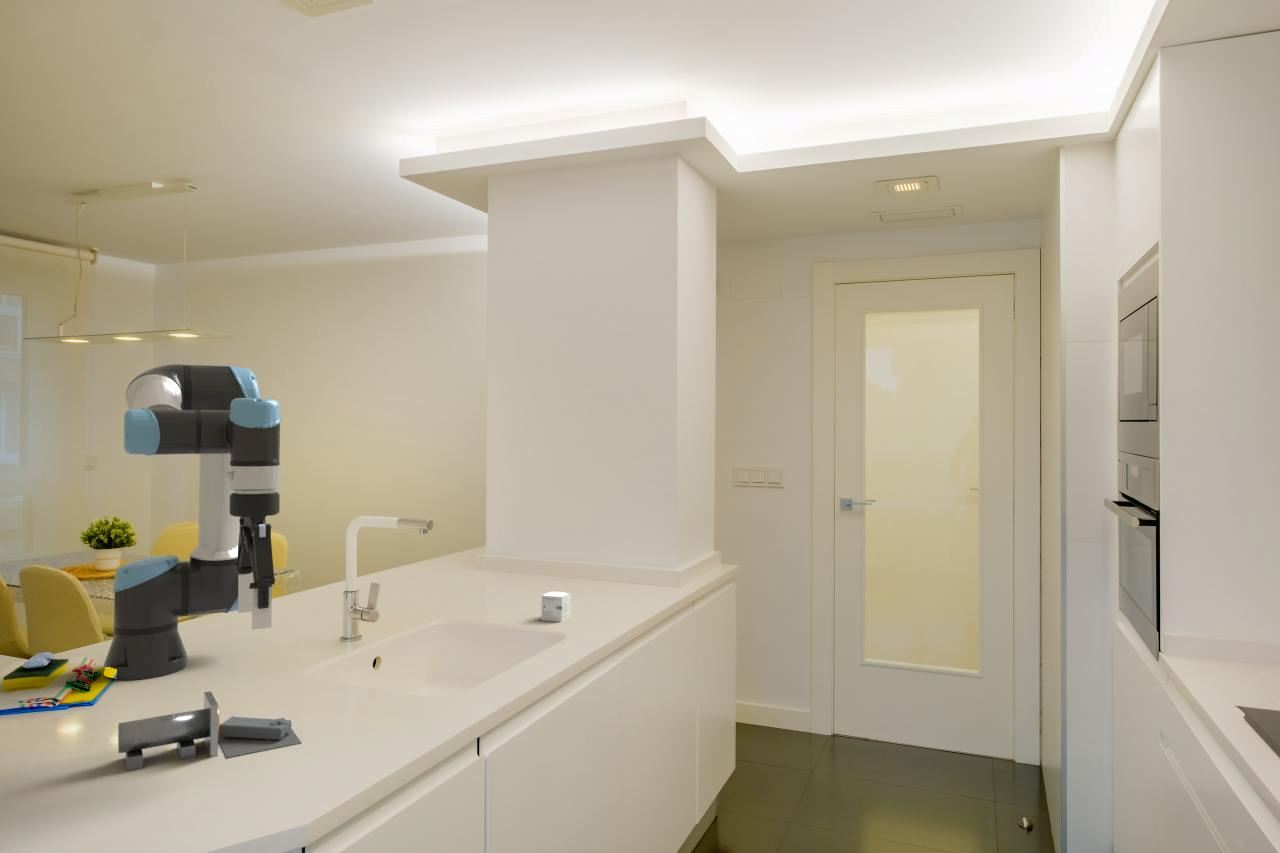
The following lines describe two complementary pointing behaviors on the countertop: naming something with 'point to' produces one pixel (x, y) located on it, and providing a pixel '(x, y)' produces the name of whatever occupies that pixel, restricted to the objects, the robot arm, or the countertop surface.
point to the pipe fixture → (171, 733)
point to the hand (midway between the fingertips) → (254, 619)
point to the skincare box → (556, 606)
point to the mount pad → (255, 744)
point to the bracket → (254, 728)
